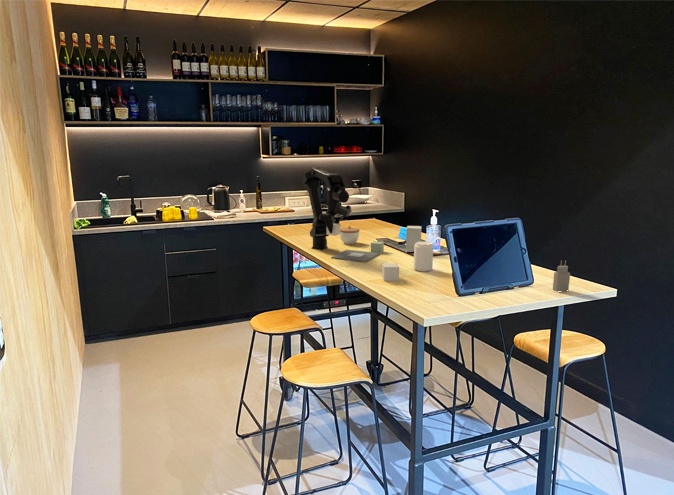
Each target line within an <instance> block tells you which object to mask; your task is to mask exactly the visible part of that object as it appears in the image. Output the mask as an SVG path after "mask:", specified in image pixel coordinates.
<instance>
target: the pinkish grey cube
mask: <svg viewBox="0 0 674 495" xmlns="http://www.w3.org/2000/svg"><path fill="white" fill-rule="evenodd" d="M381 270H382V272H381V274H382V275H381V278H382V280H383V282H399V281H400V266H399V264H398V263H397V262H394V263H393V262H390V263H389V262H386V263H382V268H381Z"/></svg>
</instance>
